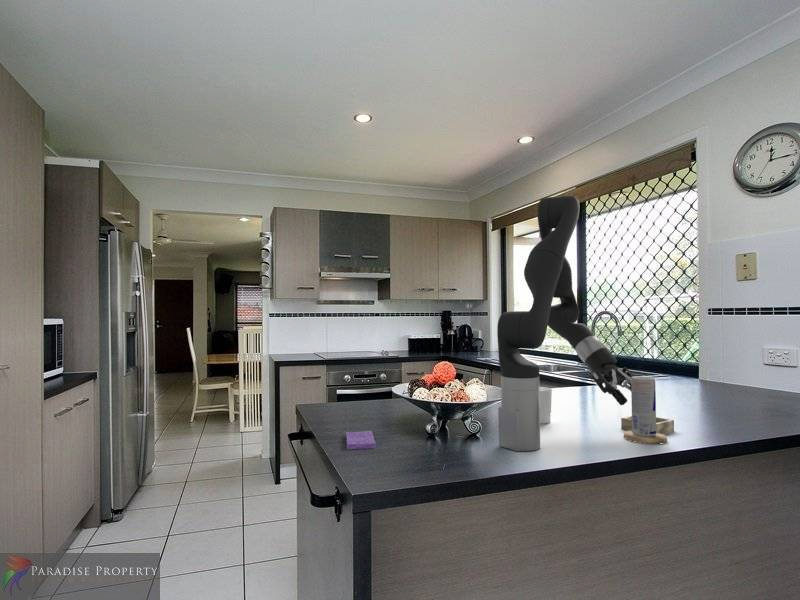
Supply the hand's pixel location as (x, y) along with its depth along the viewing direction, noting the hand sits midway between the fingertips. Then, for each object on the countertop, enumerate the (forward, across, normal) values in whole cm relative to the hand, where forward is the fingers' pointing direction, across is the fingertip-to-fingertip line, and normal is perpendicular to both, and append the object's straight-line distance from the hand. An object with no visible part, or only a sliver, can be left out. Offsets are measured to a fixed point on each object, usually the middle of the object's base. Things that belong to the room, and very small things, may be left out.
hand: (634, 401), depth 124 cm
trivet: (+8, 0, +5) cm, 10 cm away
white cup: (-12, -7, +25) cm, 29 cm away
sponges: (-18, -64, +32) cm, 73 cm away
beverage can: (+8, 0, +4) cm, 9 cm away
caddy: (+5, +10, +8) cm, 14 cm away
